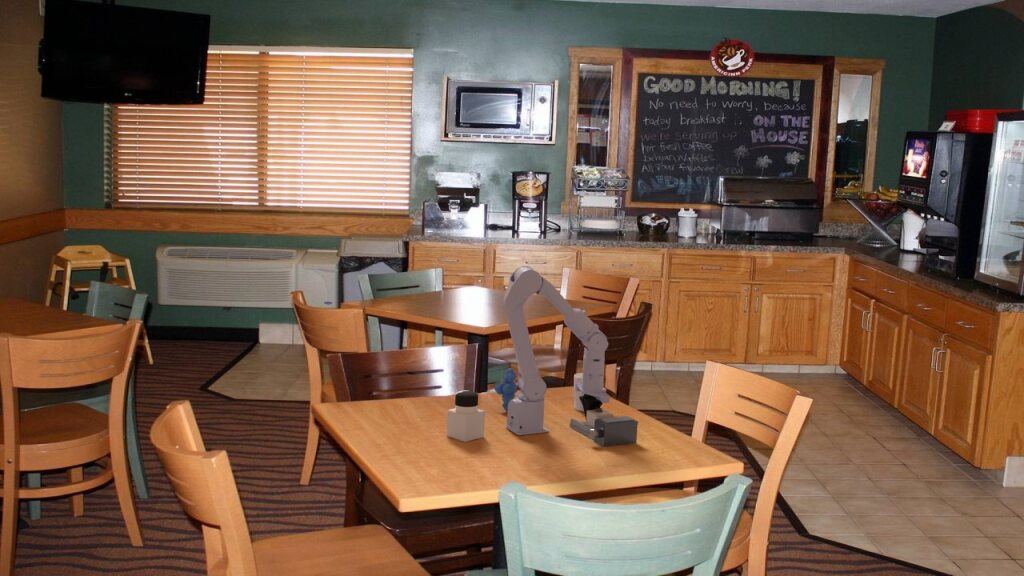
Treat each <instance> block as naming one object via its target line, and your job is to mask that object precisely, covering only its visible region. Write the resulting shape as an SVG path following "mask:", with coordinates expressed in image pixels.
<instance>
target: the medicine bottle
mask: <svg viewBox="0 0 1024 576" xmlns="http://www.w3.org/2000/svg"><path fill="white" fill-rule="evenodd" d="M478 408H479V394H478V393H477V392H476V391H474V390H466V389H465V390H459V391H457V392H456V393H455V395H454V408H450V409H447V410H446V411H447V413H446V437H448V438H451V439H455V440H458V441H461V442H462V443H463V442H464V443H466V442H470V441H473V440H478V439H483V438H484V437H485V423H486V422H485V421H486V419H485V418H486V411H485V410H482V409H478Z"/></svg>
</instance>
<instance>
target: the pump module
mask: <svg viewBox="0 0 1024 576" xmlns="http://www.w3.org/2000/svg"><path fill="white" fill-rule="evenodd" d="M611 417H613V413H612V412H611V411H608V410H607V409H604V408H602V407H600V408H595V410H587V417H586V418H585V422H586V425H587V426H589V427H591V428H593V429H594V423H595V419H601V418H611Z"/></svg>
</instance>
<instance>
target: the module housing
mask: <svg viewBox="0 0 1024 576" xmlns="http://www.w3.org/2000/svg"><path fill="white" fill-rule="evenodd" d="M569 422H570V423H569V428H571V429H573V430H575V431H576V432H578V433H580V434H582V435H583V436H585V437H587V438H588V439H589V440H593V443H596V444H597V445H599V446H601V448H602V447H603V448H608V447H616V446H617V447H619V446H625V445H626V446H627V445H633V444H634V445H636V444H637V442H638V441H637V438H638V425H639V424H638V423H639V421H638V420H636V419H634V418H632V417H630V416H627V415H623V416H614V417H613V416H612V417H611V418H601V419H595V423H594V429H593V428H591V427H589V426H587V425H586V421H580V420H578V419H575V418H574V417H571V418H570V421H569Z"/></svg>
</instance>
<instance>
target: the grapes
mask: <svg viewBox="0 0 1024 576" xmlns="http://www.w3.org/2000/svg"><path fill="white" fill-rule="evenodd" d="M516 377H517V373H516V371H515V370H514V369H513V368H511V367H510V368H507V370H506V371H504V377H503V381H502V383H498V384H497V385H496V386H495V387H494V391H495V392H496V394H497V395H498V396H500V395H501V398H502V399H501V400H502V402H503V404H502V405H501V406H502V408H503V409H504V410H505V411H506V412H507V411H508V403H509V401H510V400H512V399H516V393H517V392H518V388H517V387H516V386H517V383H516V382H515V380H516ZM517 378H518V377H517Z"/></svg>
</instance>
